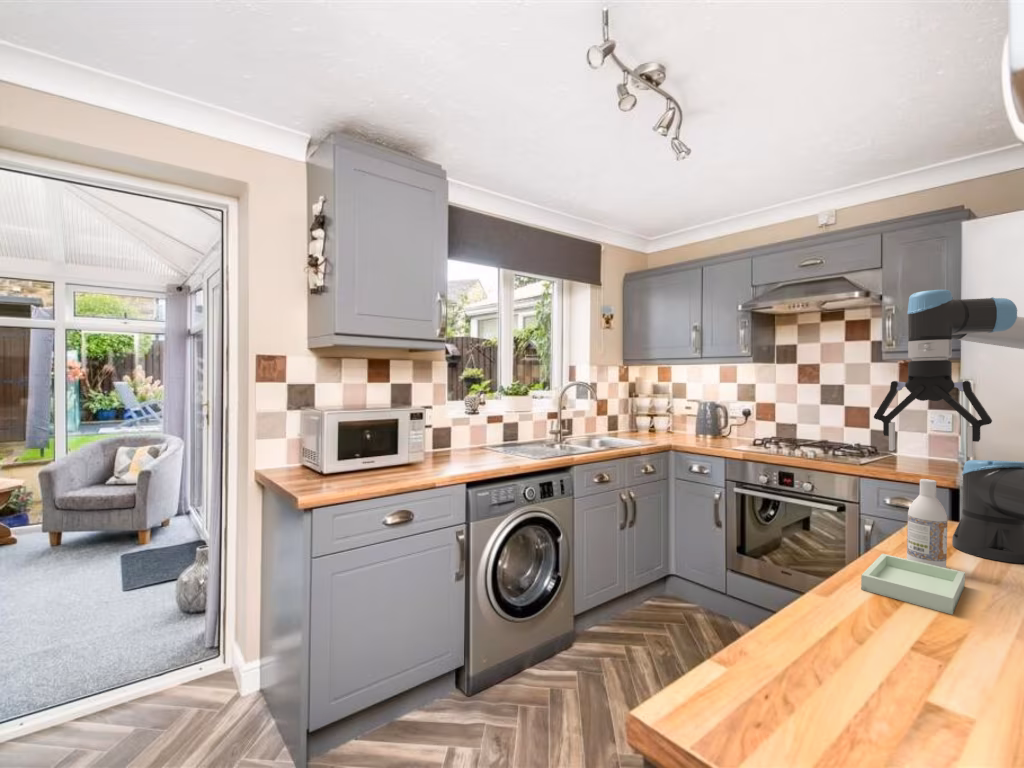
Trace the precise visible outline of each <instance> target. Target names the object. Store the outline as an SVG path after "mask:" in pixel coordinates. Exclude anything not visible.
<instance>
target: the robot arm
mask: <svg viewBox="0 0 1024 768" xmlns="http://www.w3.org/2000/svg"><path fill="white" fill-rule="evenodd" d="M906 312H907V329H908V332H907V334H908V335H907V337H908V345H907V347H908V349H907V358H908V359H910V361H909V362H908V363H907V381H906V382H904V381H898V380H893V381H891V382H890V386H889V387H890V388H889V391H888V393H887V395H886V396H885V397H884V399H883V401H882V403H881V404H880V405H879V407H878V409H877V410H876V411H875V414H873V418H874V419H875V420H877V421H878V420H879V421H881V422H882V425H883V427H882V428H883V429H882V430H883V431H882V432H883V433H882V434H883V436H884V437H885V436H886V437H888V451H891V452H893V451H895V450H896V422H894V421H892V420H894V418H896V417H897V416H898V415H899V414H900V413H901V412H902V411H904V409H906V408H907V407H908V406H909V405H910V404H911V403H913V402H914V401H915V400H918V401H920V402H922V401H923V402H924V401H933V402H939V401H942V400H943V401H944V402H946V403H947V404H948V405H950V406H951V407H952V408H953V409H954V410H955V411H956V412H957V413H958V414H959V415H960V416H961V417H963V418H964V419H965V421H966V422H968V423H969V424H970V425H968V426H967V433H966V435H967V438H966V440H967V443H966V444H967V445H966V447H967V450H966V451H967V453H966V454H967V455H966V457H967V458H973V457H974V443H975V442H977V443H978V442H980V440H981V427H983V426H986V425H987V426H988V425H990V424H992V422H993V420H992V419H993V418H991V416H990V415H989V413H988V412H987V410H986V409H985V408H984V406H983V404H982V403H981V402H980V400H979V399H978V397H977V395H976V394H975V392H974V391H973V388H972V382H971V381H969V380H964V381H958V382H955V381H953V377H952V375H953V374H952V373H953V371H952V370H953V369H952V367H953V364H952V361H951V360H949V358H952V356H953V355H952V353H953V352H952V351H953V350H952V347H953V345H952V344H953V340H957V341H964V342H971V343H979V344H985V345H992V346H998V347H1004V348H1012V349H1019V350H1020V349H1021V350H1024V317H1023V316H1018V308H1017V305H1016V304H1015V302H1013V300H1011V299H1008V298H1002V297H1001V298H1000V297H999V298H997V297H994V296H993V297H990V298H989V297H985V298H967V299H965V298H963V299H961V298H960V299H956V298H954V296H953V293H952V291H951V290H948V289H934V290H933V289H931V290H923V291H918V292H914V293H912V294H911V295H910V296H909V298H908V304H907V311H906ZM903 388H905V389H907V390H908V392H909V393H910V394H908V395H907V396H906V397H905V398H904V399H903V400H902V401H900V403H899V404H897V405H896V406H895V407H894V408H893V409H892V410H891V411H890V412H889V413H888V414H886V415H885V413H886V411H887V409H888V408H889V407H890V406H891V404H892V402H893V401H894V399H895V397H896V396H897V394H898V392H900V391H902V390H903ZM954 388H957V389H958V391H960V392H963V393H964V395H965V397H966V398H967V400H968V402H969V403H970V404H971V406H972V407H973V409H974V410H975V412H976V413H977V414H978V416H979V418H980V419H977V418H976V417H975V416H974V415H973V414H972V413H971V412H970V411H969V410H968V409H966V408H965V407H964V406H963V405H961V403H960V402H958V401H957V400H956V399H955V398H954V397H953V396H952V395H951V393H950V392H952V390H953V389H954ZM962 470H963V471H962V474H961V476H962V505H961V506H962V511H961V512H962V514H961V519H960V520H959V522H958V524H957V527H956V528H955V530H954V533H953V535H952V538H951V539H952V541H951V542H952V543H951V544H952V546H953V548H955V549H957V550H959V551H961V552H963V553H966V554H969V555H973V556H976V557H980V558H985V559H989V560H993V561H998V562H1006V563H1014V564H1024V461H1018V460H1017V461H1015V460H989V459H988V460H987V459H969V460H966V461H965V463H964V465H963V469H962Z"/></svg>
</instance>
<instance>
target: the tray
mask: <svg viewBox="0 0 1024 768" xmlns="http://www.w3.org/2000/svg"><path fill="white" fill-rule="evenodd" d="M965 576H966V572H965V571H961V570H956V569H951V568H949V567H946V568H944V567H939V566H935V565H930V564H926V563H922V562H917V561H913V560H908V559H907V558H904V557H903V558H902V557H899V556H895V555H891V554H886V553H881V554H880V555H879V556H878V557H877V558H876V559H875V560H874V562H873V563H871V564H870V566H868V567H867V569H866V570H865V571H864V572H863V573H862V574H861V577H860V578H861V581H860V582H861V584H860V589H861V590H862V591H866V592H869V593H872V594H873V593H874V594H877V595H880V596H883V597H887V598H891V599H896V600H898V601H901V602H905V603H908V604H909V603H910V604H913V605H916V606H921V607H924V608H927V609H931V610H935V611H938V612H941V613H944V614H945V613H946V614H947V615H948V614H949V615H952V616H953V615H954V612H955V610H956V608H957V605H958V603H959V600H960V598H961V596H962V594H963V592H964V588H965V581H966V579H965V578H966V577H965Z"/></svg>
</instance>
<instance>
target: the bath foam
mask: <svg viewBox="0 0 1024 768" xmlns="http://www.w3.org/2000/svg"><path fill="white" fill-rule="evenodd" d="M937 483H938V482H937V481H936V480H934V479H929V478H928V479H927V478H921V479H919V494H918V496H917V497H916V498H915V499H914V500H913V501H912V502H911V503H910V505H909V508H908V511H907V529H906V530H907V534H906V535H907V536H906V537H907V538H906V542H907V543H906V559H908V560H913V561H917V562H922V563H926V564H930V565H935V566H939V567H944V568H947V559H948V558H947V554H948V553H947V551H948V550H947V549H948V516H947V511H946V509H945V507H944V506H943V504H942V503H941V502H940V500H939V499H938V497H937Z"/></svg>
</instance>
